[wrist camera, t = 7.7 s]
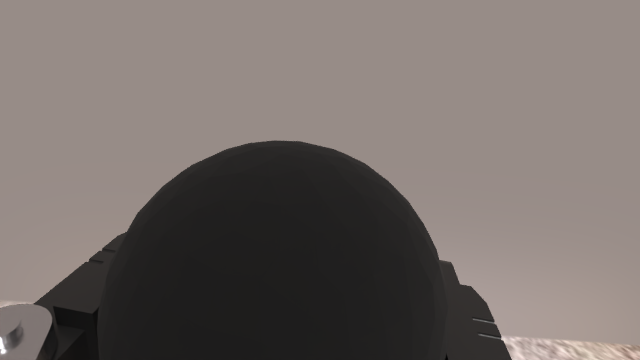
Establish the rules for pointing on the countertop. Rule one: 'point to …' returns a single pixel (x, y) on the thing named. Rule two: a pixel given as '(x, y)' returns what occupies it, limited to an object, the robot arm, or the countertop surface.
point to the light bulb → (275, 265)
